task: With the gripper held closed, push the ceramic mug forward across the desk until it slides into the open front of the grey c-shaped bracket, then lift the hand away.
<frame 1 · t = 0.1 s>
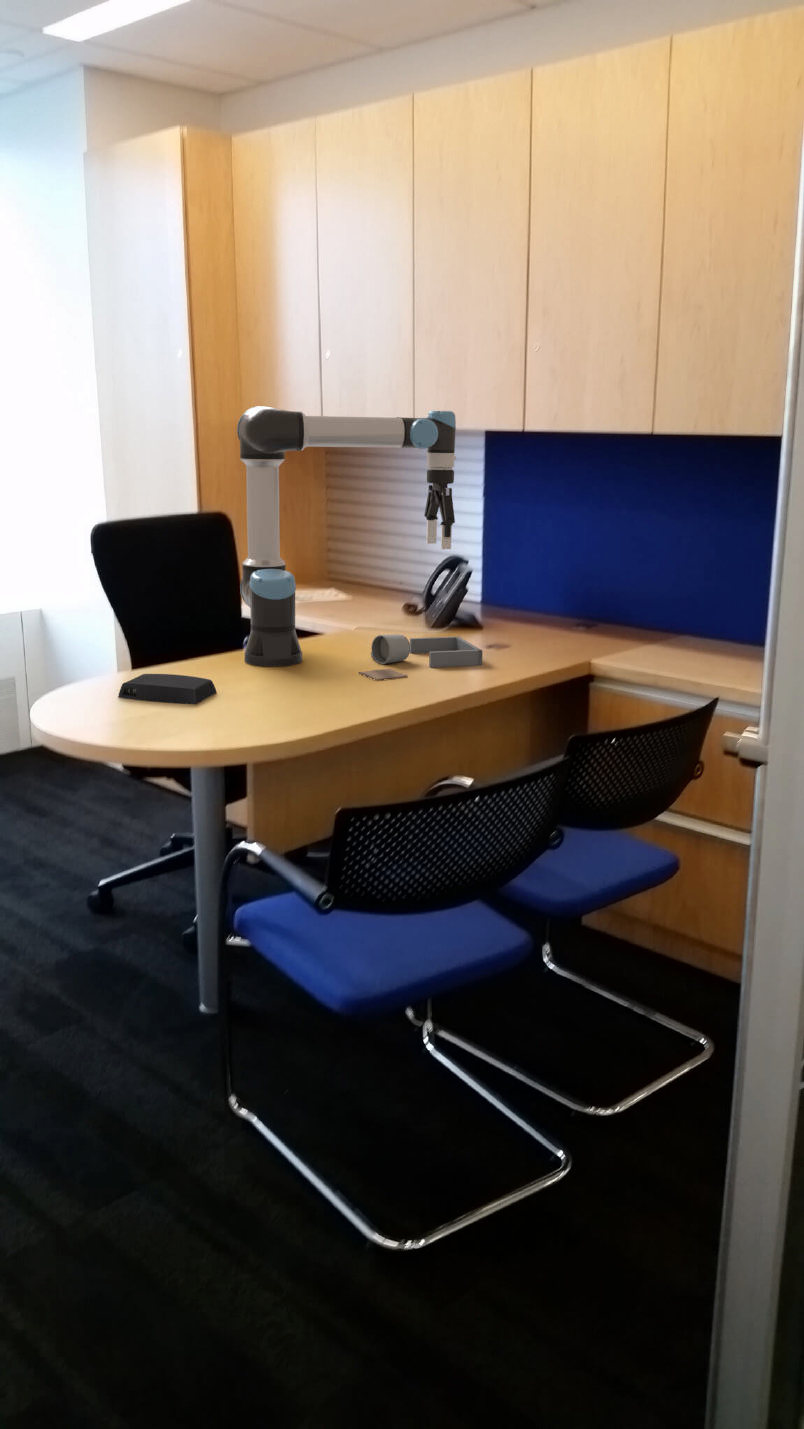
hand: (438, 546, 320), 28 cm above the table, tool pointing down, fingers open, 13 cm apart
external hard drive: (168, 698, 264), on the table
grey c-shaped bracket: (442, 658, 308), on the table
walnut coaster: (382, 677, 288), on the table
ceramic mug: (387, 662, 304), on the table
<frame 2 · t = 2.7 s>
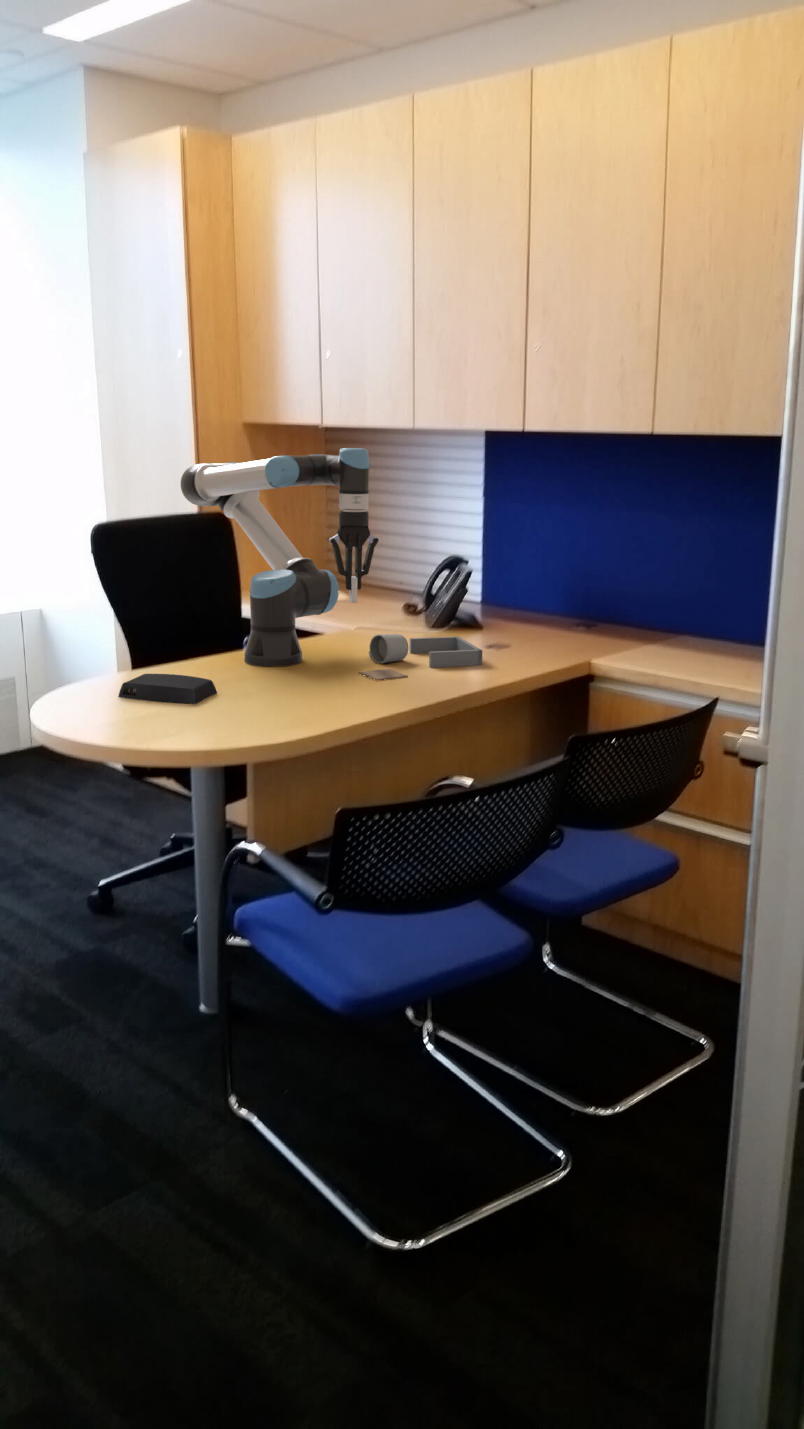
hand: (353, 602, 297), 16 cm above the table, tool pointing down, fingers closed
nothing on the table moved.
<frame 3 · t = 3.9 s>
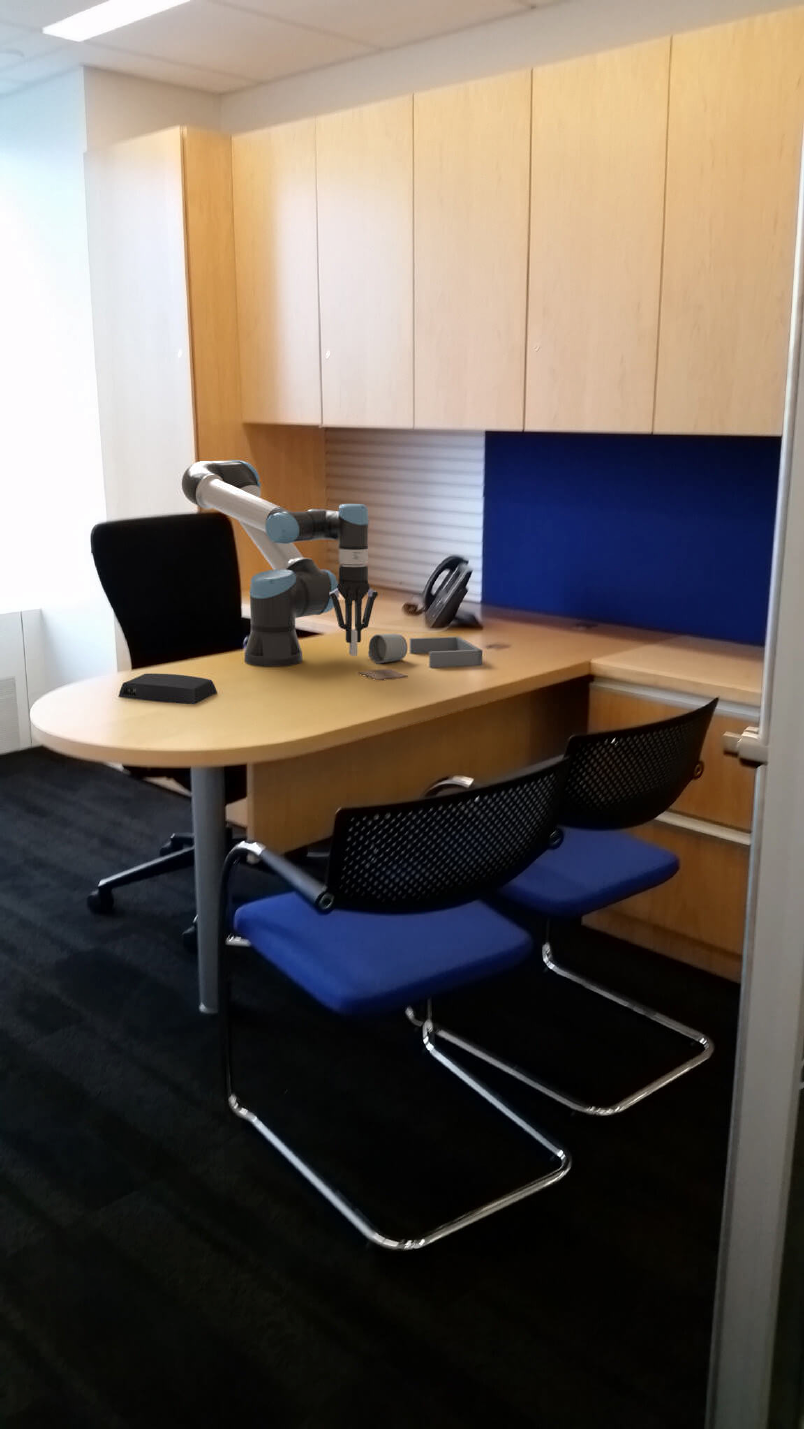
hand: (353, 654, 301), 2 cm above the table, tool pointing down, fingers closed
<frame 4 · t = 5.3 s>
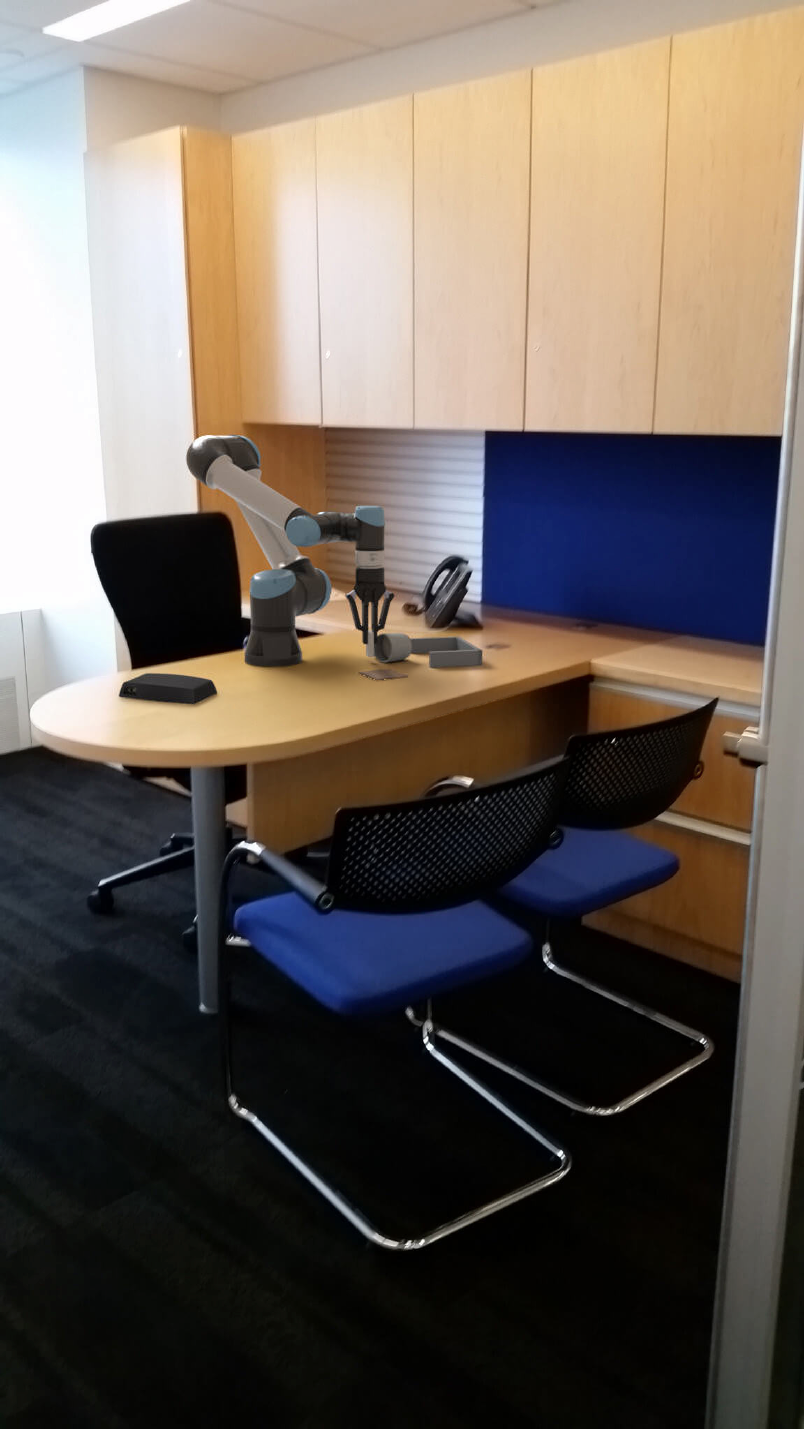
hand: (369, 655, 302), 2 cm above the table, tool pointing down, fingers closed
ceramic mug: (389, 660, 306), on the table, touching gripper
everything else where it was.
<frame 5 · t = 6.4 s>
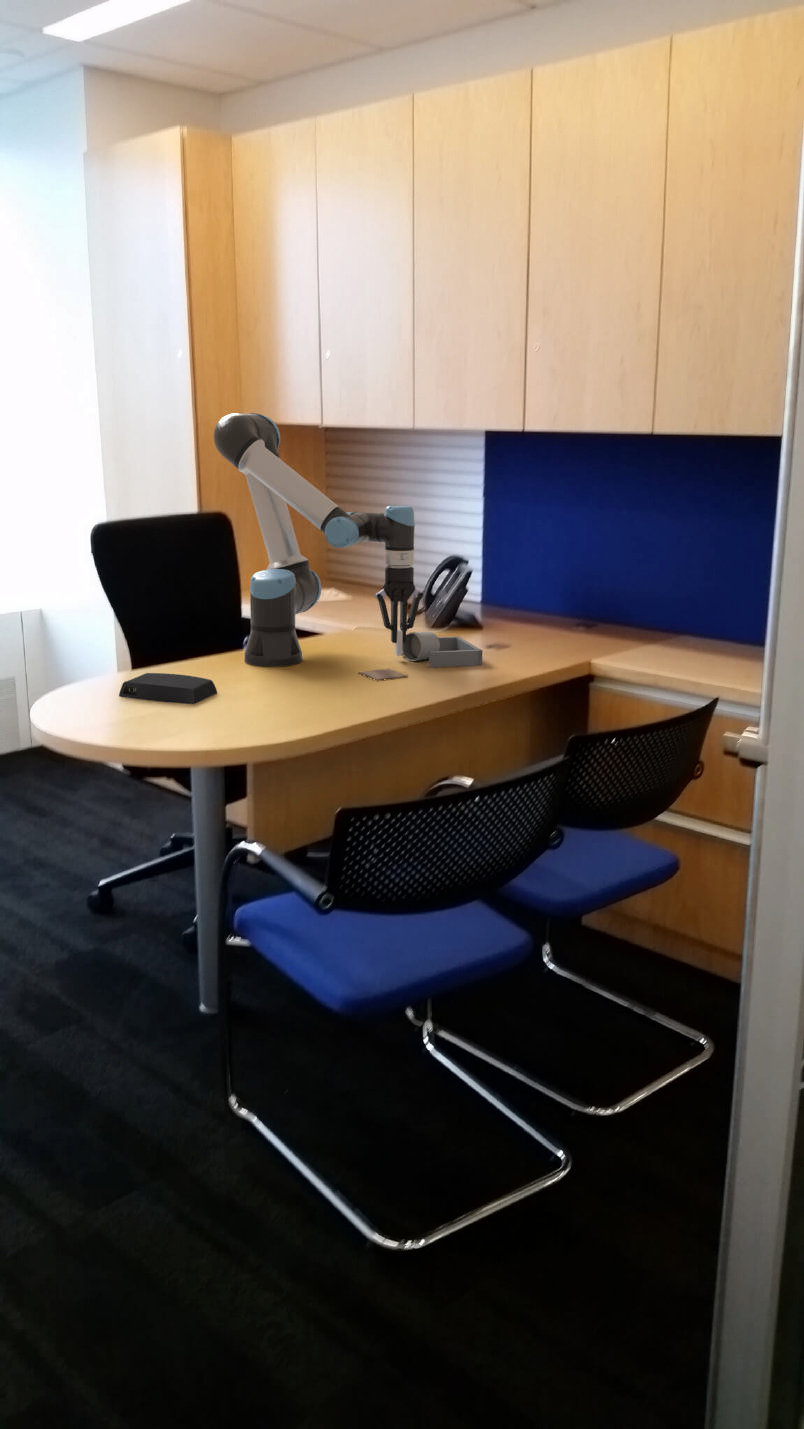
hand: (398, 654, 304), 2 cm above the table, tool pointing down, fingers closed
ceramic mug: (417, 659, 308), on the table, touching gripper
everything else where it was.
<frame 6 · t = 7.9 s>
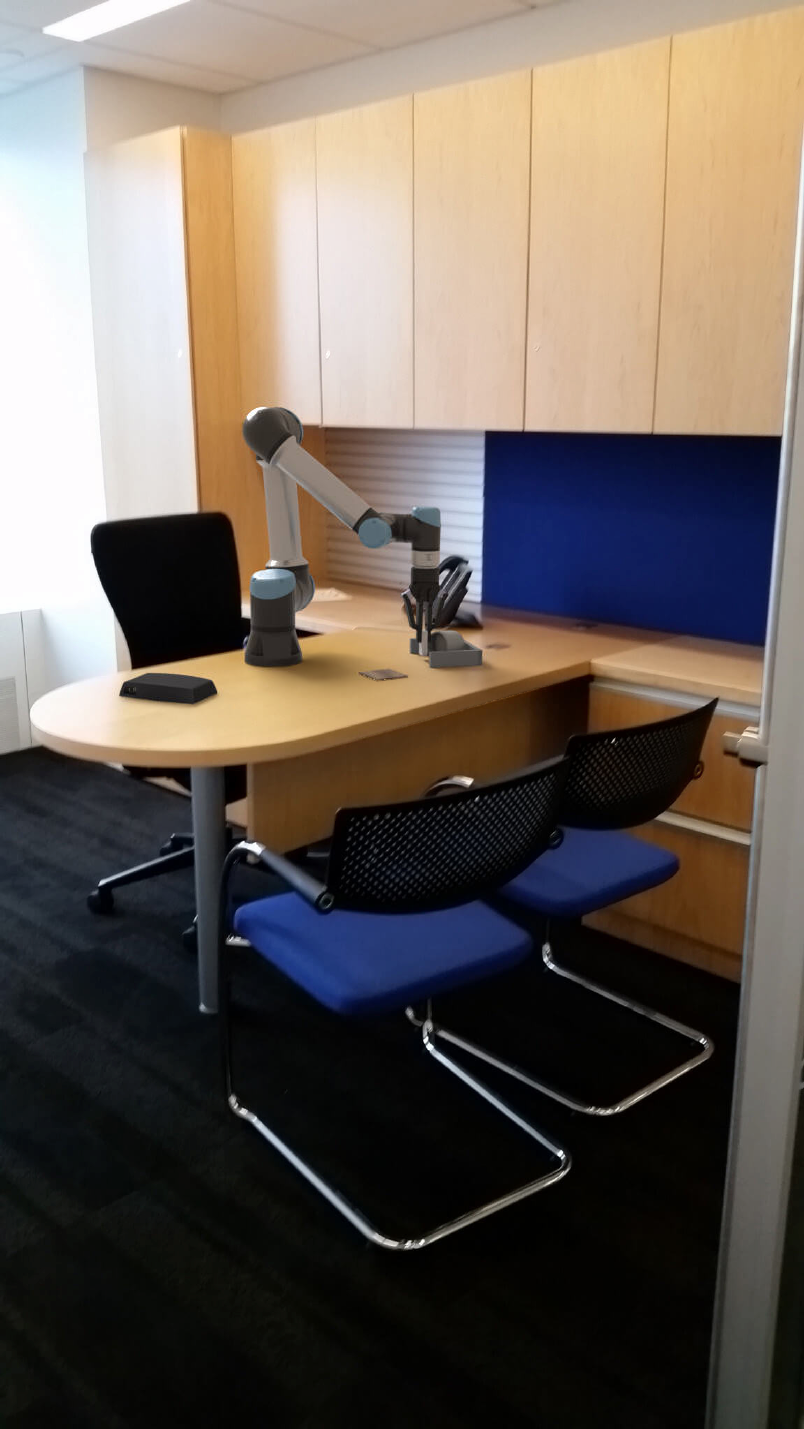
hand: (423, 654, 306), 1 cm above the table, tool pointing down, fingers closed
ceramic mug: (441, 658, 310), on the table, touching gripper
everything else where it was.
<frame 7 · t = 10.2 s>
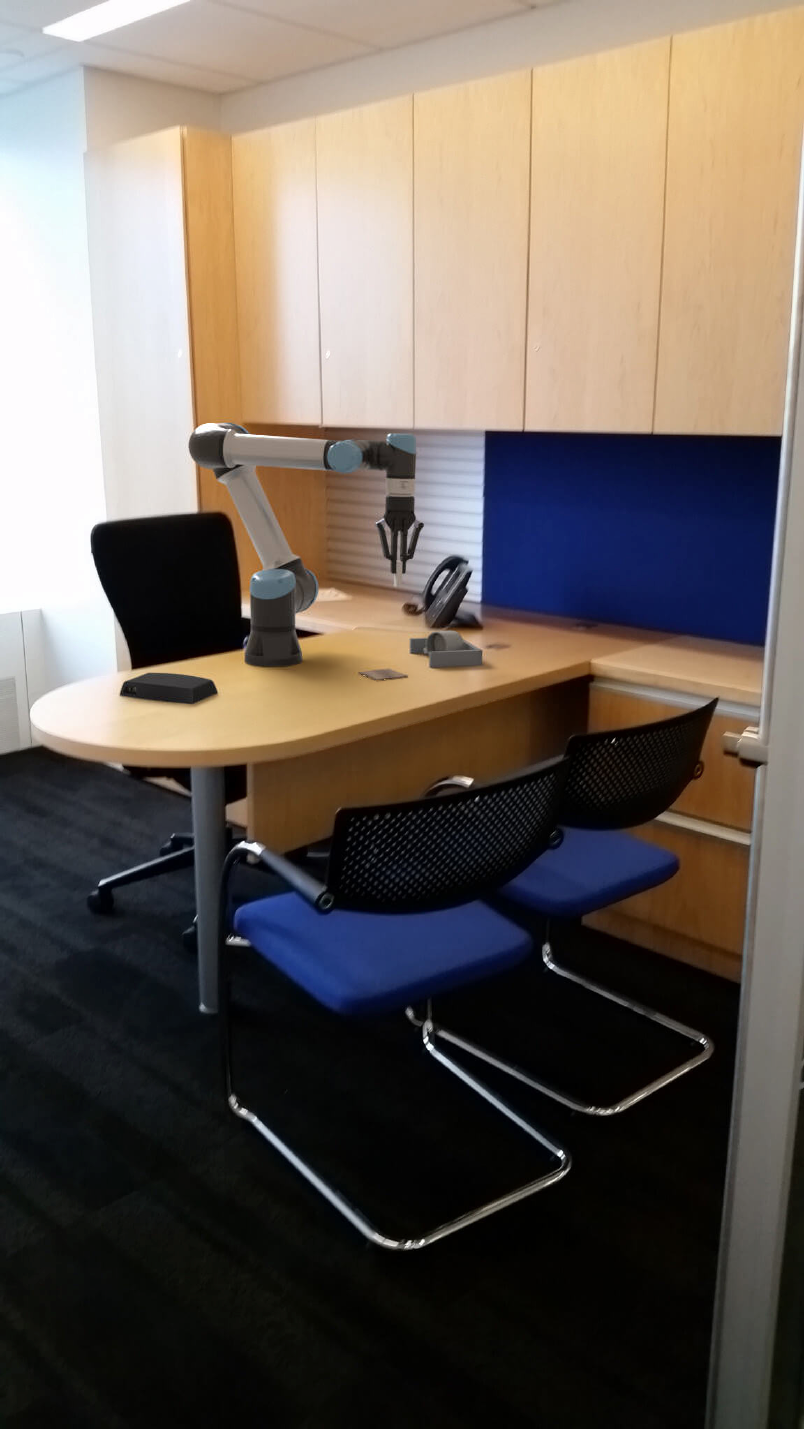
hand: (397, 585, 301), 20 cm above the table, tool pointing down, fingers closed
ceramic mug: (440, 658, 311), on the table
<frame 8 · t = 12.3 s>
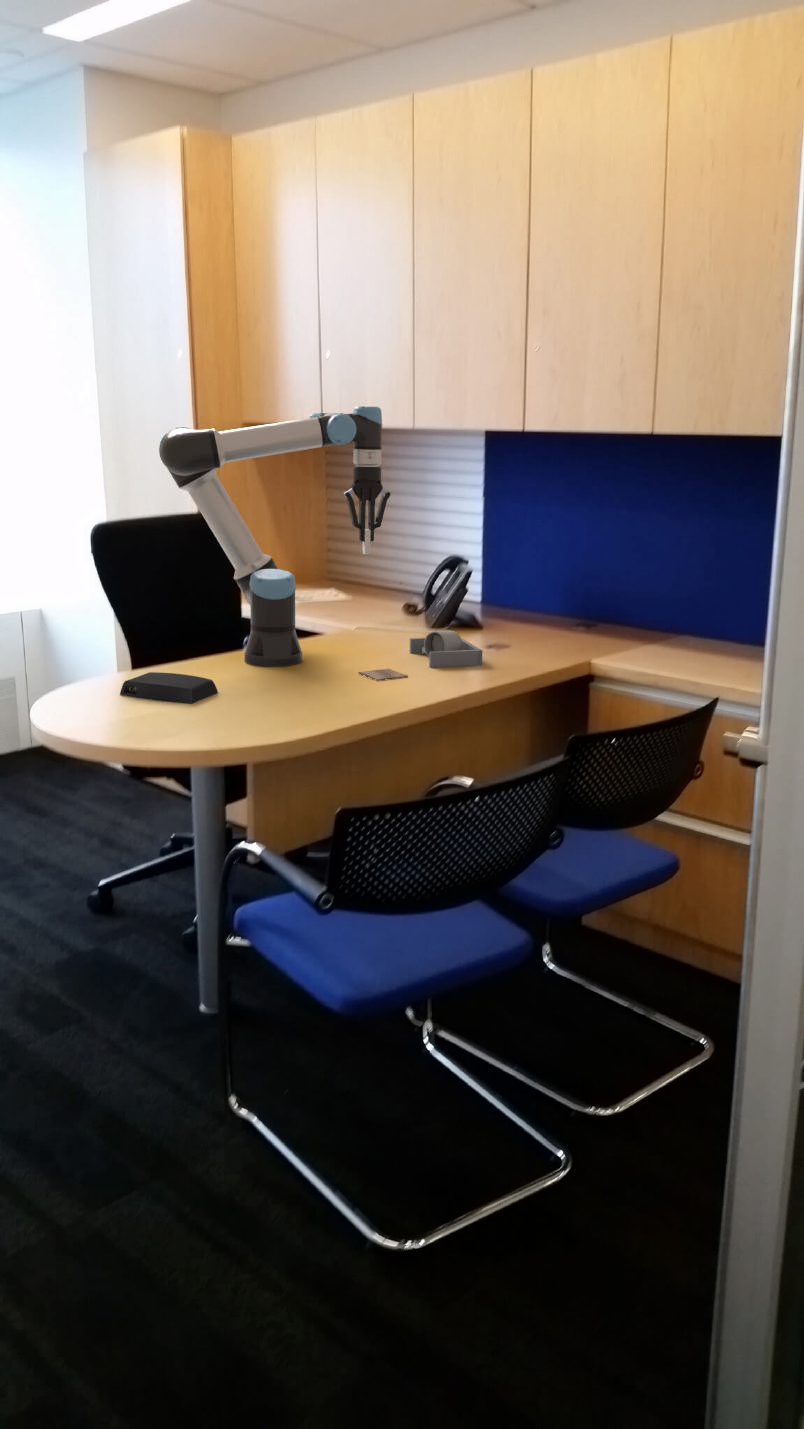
hand: (366, 553, 314), 26 cm above the table, tool pointing down, fingers closed
at the end: ceramic mug inside the target area on the grey c-shaped bracket (2.8 cm from its centre), point 0.0 cm above the grey c-shaped bracket's base; ceramic mug moved 15.5 cm from its start; the gripper is holding nothing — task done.
